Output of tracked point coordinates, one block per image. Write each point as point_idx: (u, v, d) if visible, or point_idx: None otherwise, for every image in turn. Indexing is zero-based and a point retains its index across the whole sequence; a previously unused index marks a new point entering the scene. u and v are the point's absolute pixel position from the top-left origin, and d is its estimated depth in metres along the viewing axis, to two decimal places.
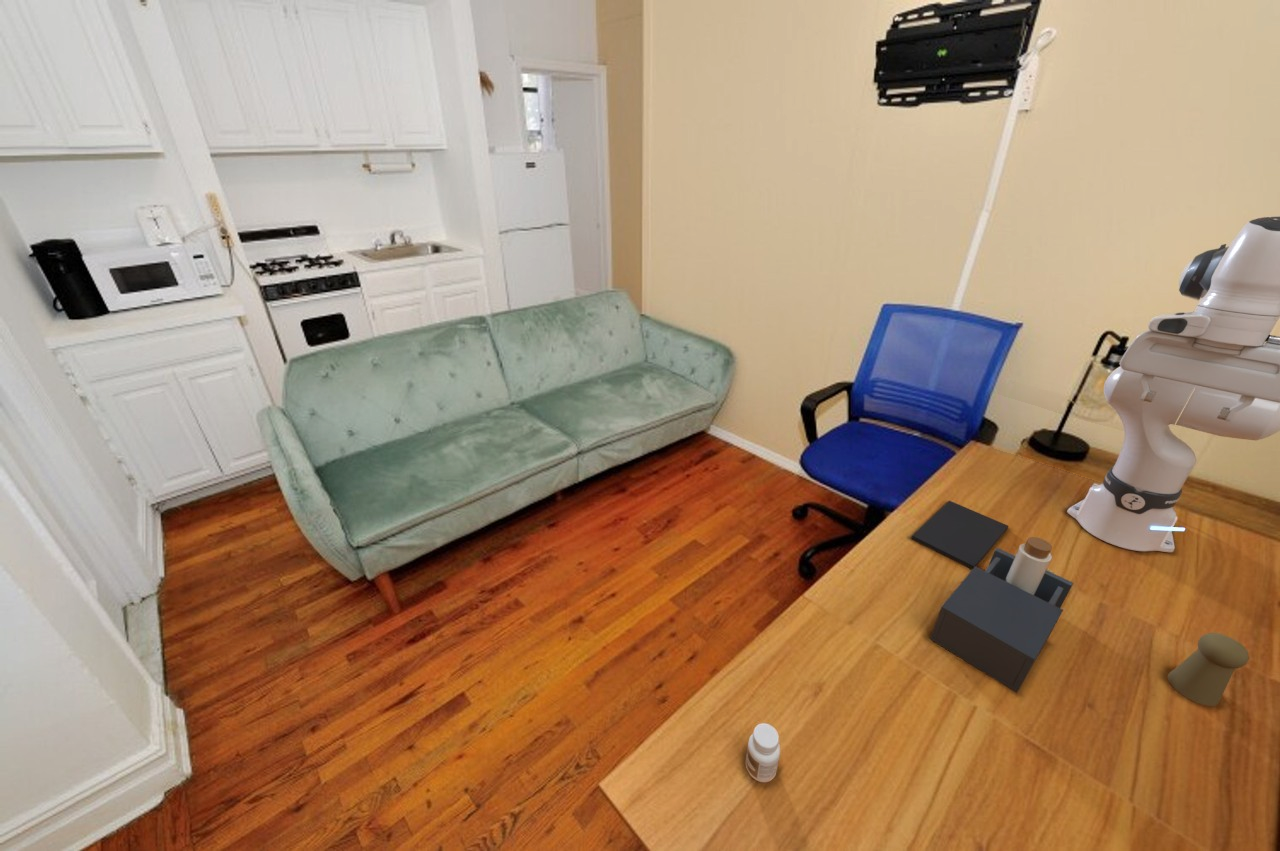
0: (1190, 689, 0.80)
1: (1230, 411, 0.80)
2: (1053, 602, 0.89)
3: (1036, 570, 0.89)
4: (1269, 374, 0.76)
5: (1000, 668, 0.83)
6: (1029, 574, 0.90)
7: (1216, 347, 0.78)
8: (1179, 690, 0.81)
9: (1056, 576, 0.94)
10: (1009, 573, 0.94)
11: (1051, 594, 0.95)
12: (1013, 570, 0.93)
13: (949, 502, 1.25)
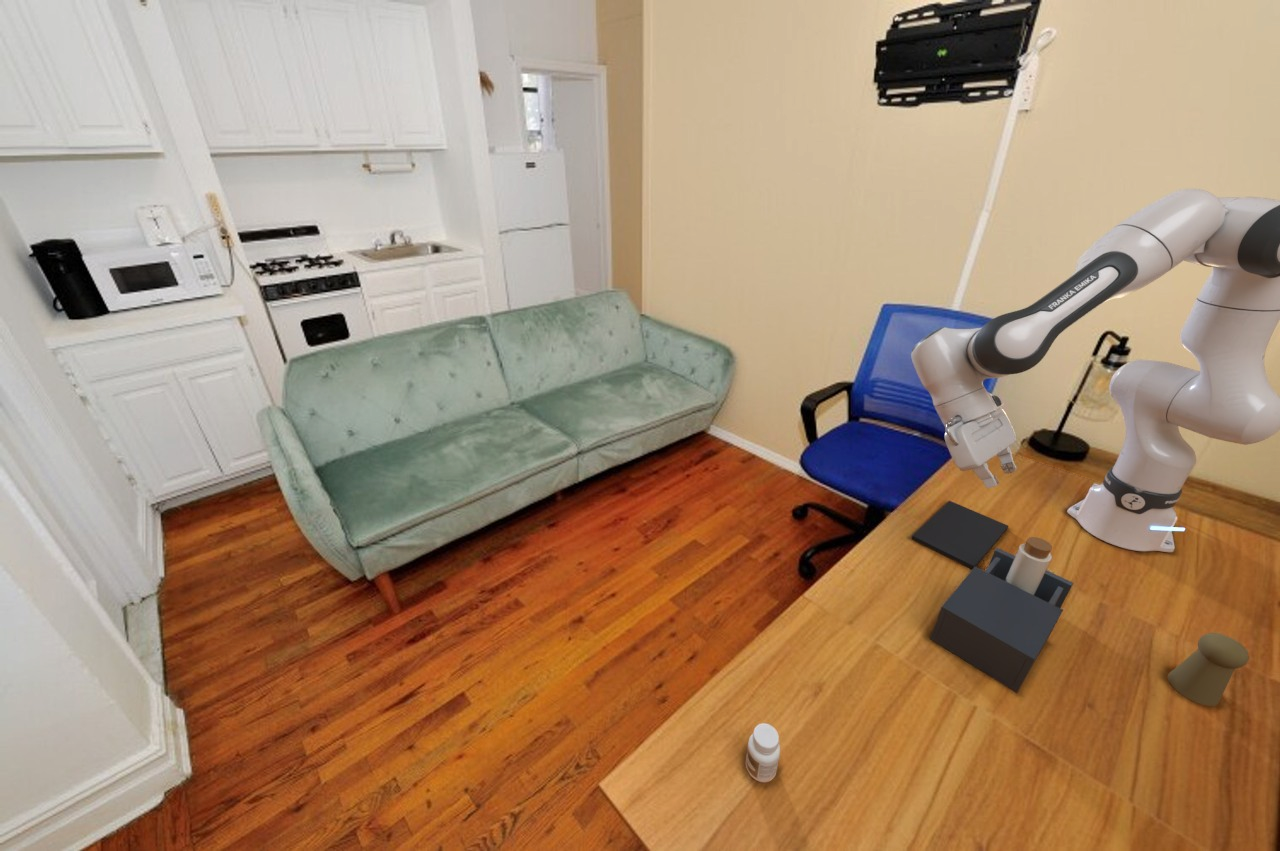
0: (1190, 689, 0.80)
1: None
2: (1053, 602, 0.89)
3: (1036, 570, 0.89)
4: None
5: (1000, 668, 0.83)
6: (1029, 574, 0.90)
7: None
8: (1179, 690, 0.81)
9: (1056, 576, 0.94)
10: (1009, 573, 0.94)
11: (1051, 594, 0.95)
12: (1013, 570, 0.93)
13: (949, 502, 1.25)
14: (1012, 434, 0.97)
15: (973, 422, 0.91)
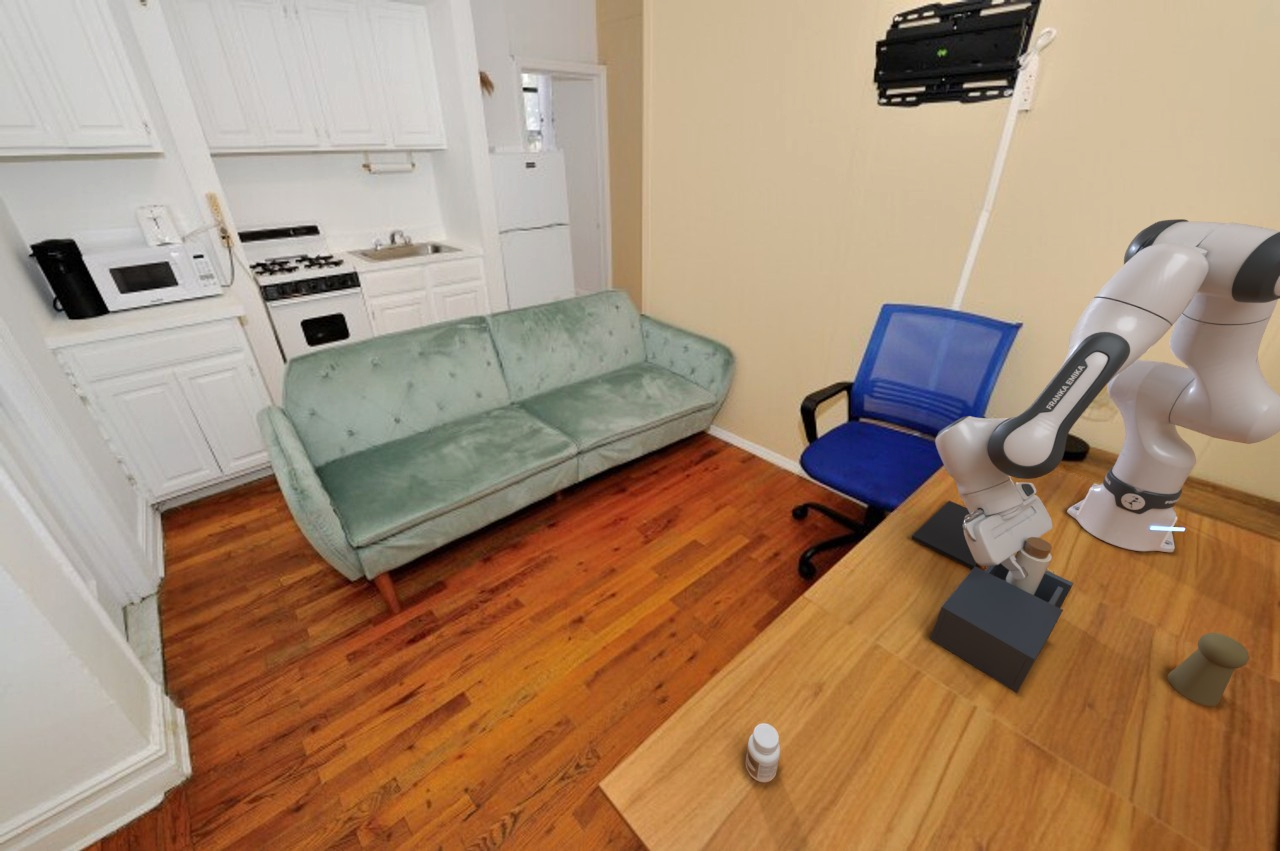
0: (1190, 689, 0.80)
1: None
2: (1053, 602, 0.89)
3: (1036, 570, 0.89)
4: None
5: (1000, 668, 0.83)
6: (1029, 574, 0.90)
7: None
8: (1179, 690, 0.81)
9: (1056, 576, 0.94)
10: (1009, 573, 0.94)
11: (1051, 594, 0.95)
12: None
13: (949, 502, 1.25)
14: (1047, 522, 0.95)
15: (995, 516, 0.91)
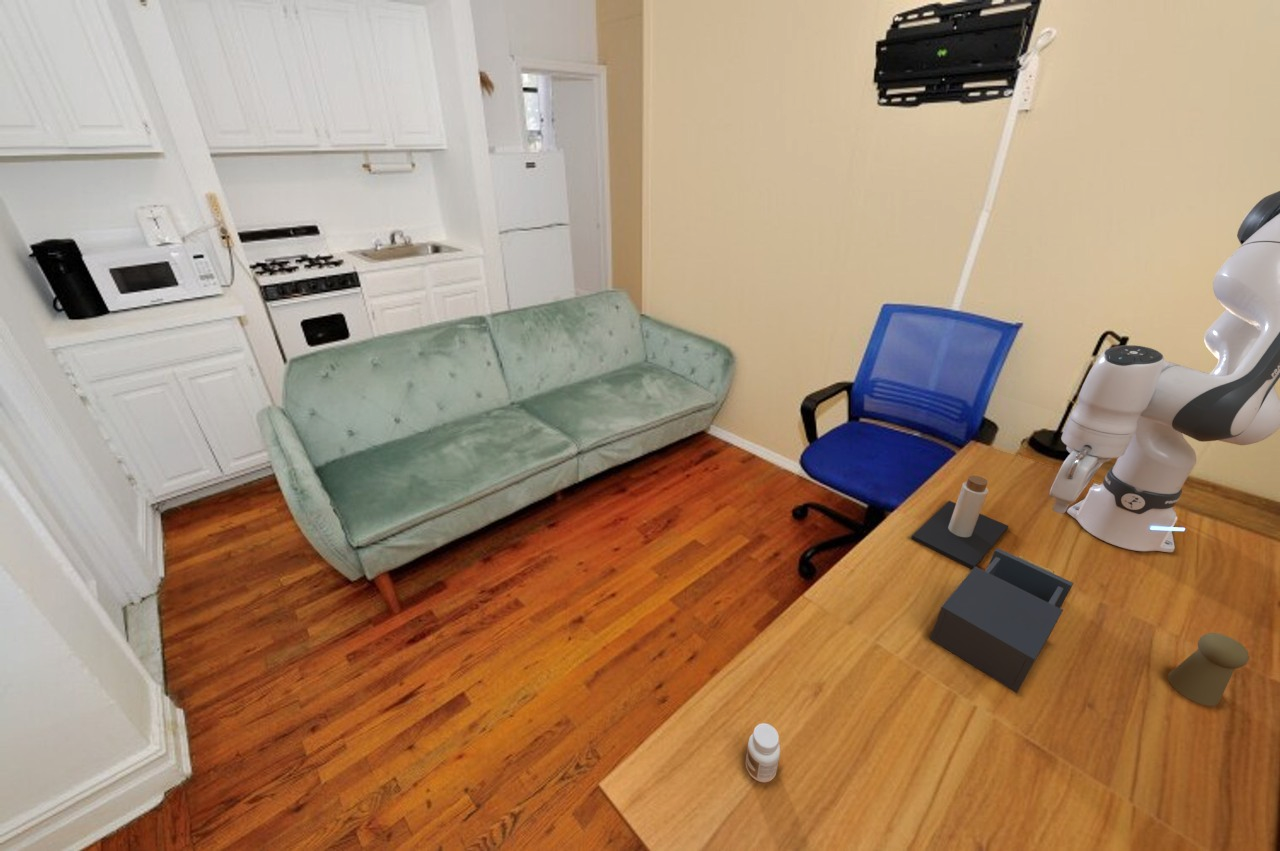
0: (1190, 689, 0.80)
1: None
2: (1053, 602, 0.89)
3: (969, 500, 1.09)
4: None
5: (1000, 668, 0.83)
6: (964, 503, 1.10)
7: None
8: (1179, 690, 0.81)
9: (1056, 576, 0.94)
10: None
11: (1051, 594, 0.95)
12: (957, 501, 1.13)
13: (949, 502, 1.25)
14: None
15: (1097, 458, 0.87)
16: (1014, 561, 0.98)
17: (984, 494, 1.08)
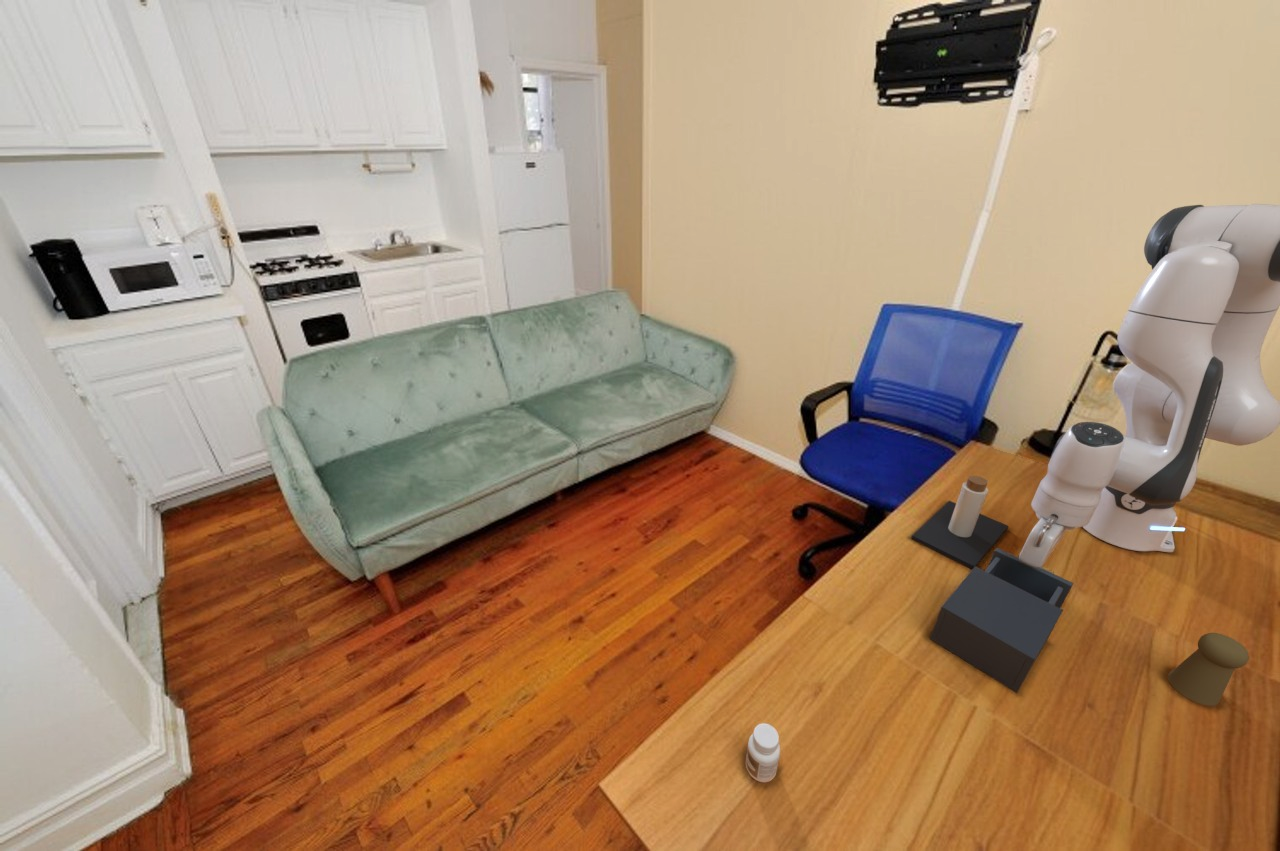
0: (1190, 689, 0.80)
1: None
2: (1053, 602, 0.89)
3: (969, 500, 1.09)
4: None
5: (1000, 668, 0.83)
6: (964, 503, 1.10)
7: None
8: (1179, 690, 0.81)
9: (1056, 576, 0.94)
10: None
11: (1051, 594, 0.95)
12: (957, 501, 1.13)
13: (949, 502, 1.25)
14: None
15: (1063, 527, 0.92)
16: (1014, 561, 0.98)
17: (984, 494, 1.08)
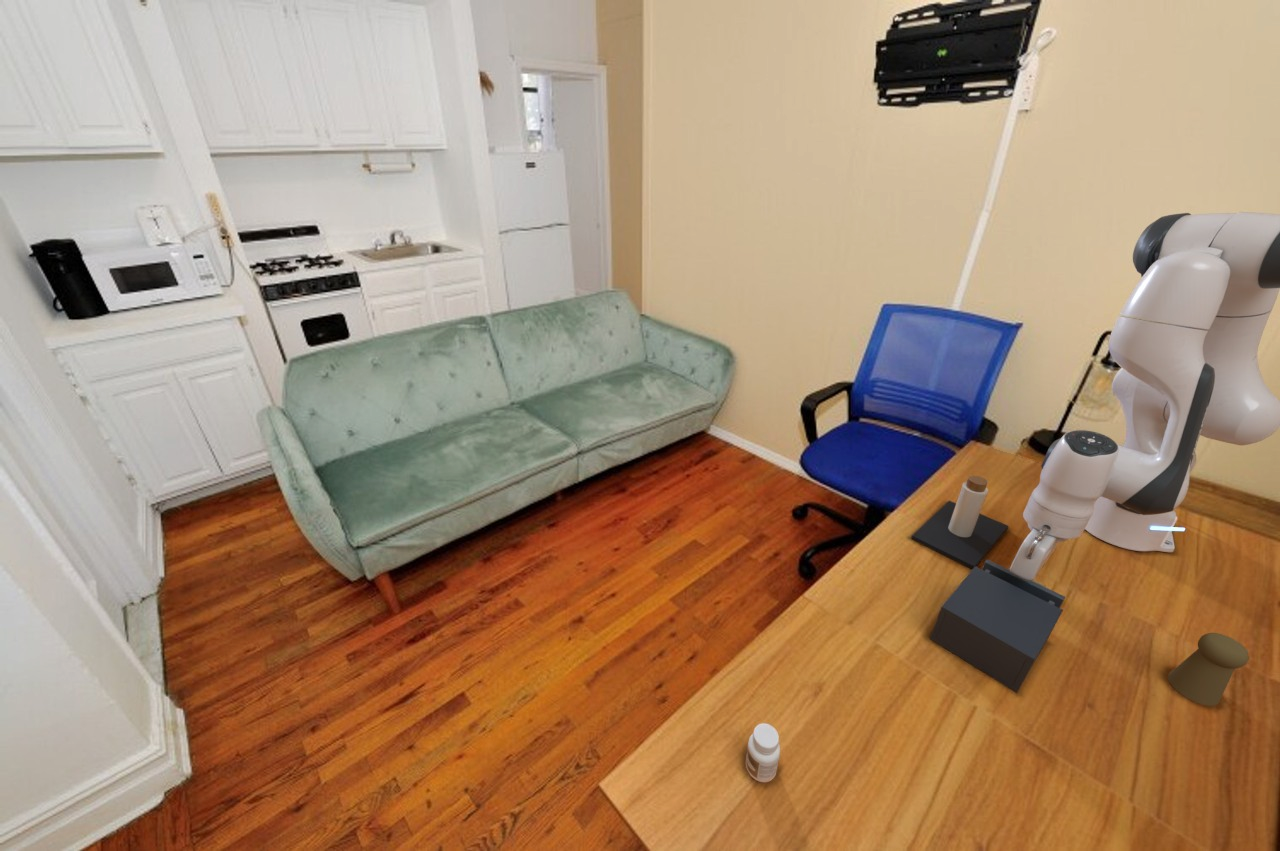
0: (1190, 689, 0.80)
1: None
2: None
3: (969, 500, 1.09)
4: None
5: (1000, 668, 0.83)
6: (964, 503, 1.10)
7: None
8: (1179, 690, 0.81)
9: (1047, 590, 0.91)
10: None
11: None
12: (957, 501, 1.13)
13: (949, 502, 1.25)
14: None
15: (1055, 538, 0.89)
16: (1005, 573, 0.96)
17: (984, 494, 1.08)
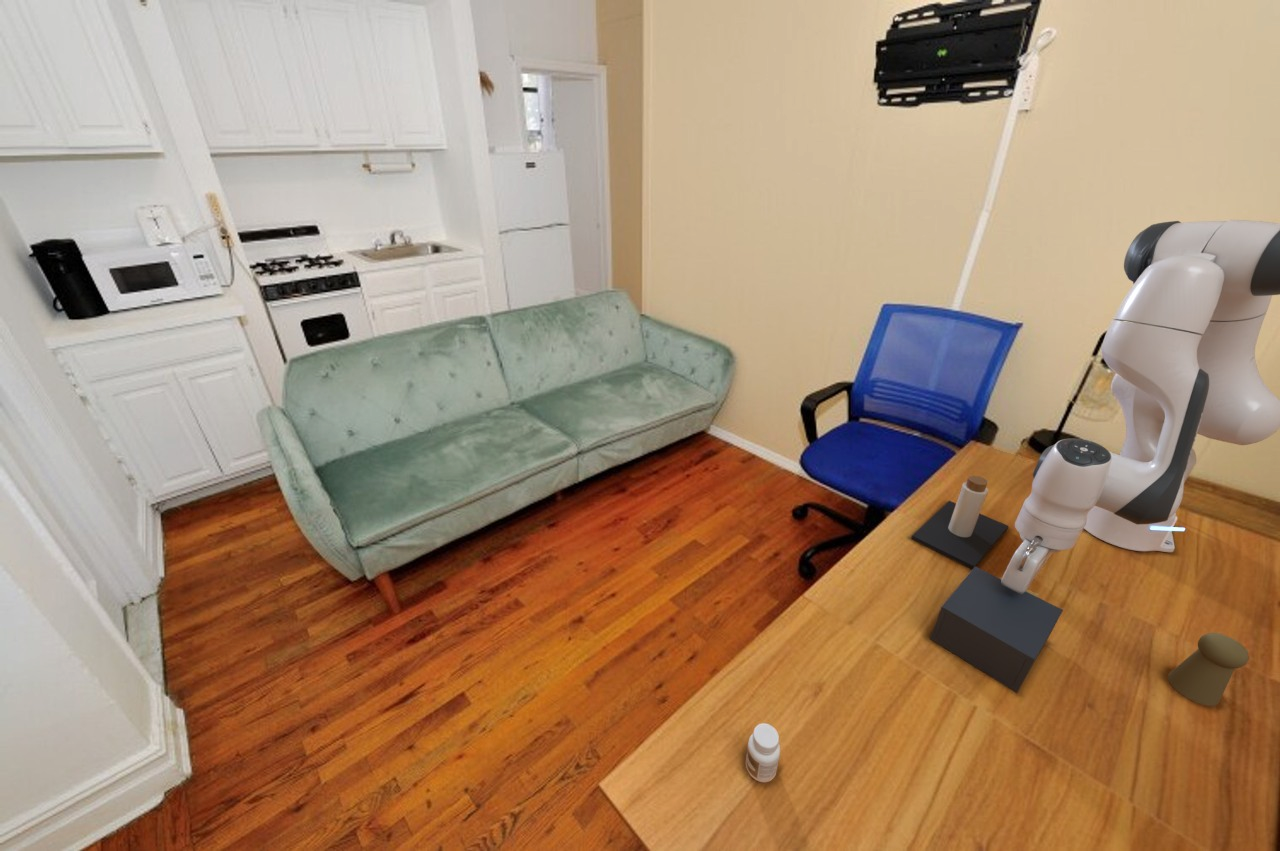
0: (1190, 689, 0.80)
1: None
2: None
3: (969, 500, 1.09)
4: None
5: (1000, 668, 0.83)
6: (964, 503, 1.10)
7: None
8: (1179, 690, 0.81)
9: None
10: None
11: None
12: (957, 501, 1.13)
13: (949, 502, 1.25)
14: None
15: (1047, 549, 0.87)
16: None
17: (984, 494, 1.08)
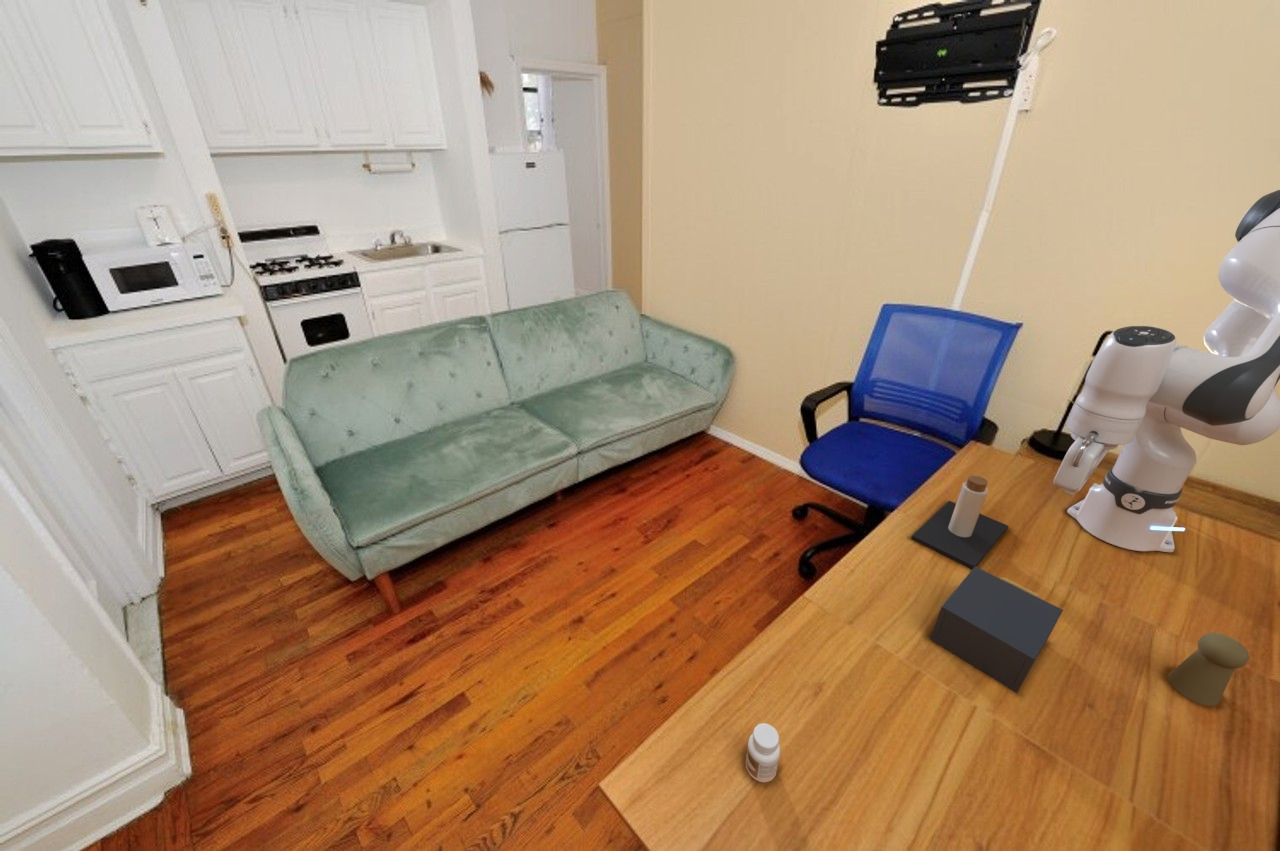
0: (1190, 689, 0.80)
1: None
2: None
3: (969, 500, 1.09)
4: None
5: (1000, 668, 0.83)
6: (964, 503, 1.10)
7: None
8: (1179, 690, 0.81)
9: None
10: None
11: None
12: (957, 501, 1.13)
13: (949, 502, 1.25)
14: None
15: (1103, 445, 0.83)
16: None
17: (984, 494, 1.08)
